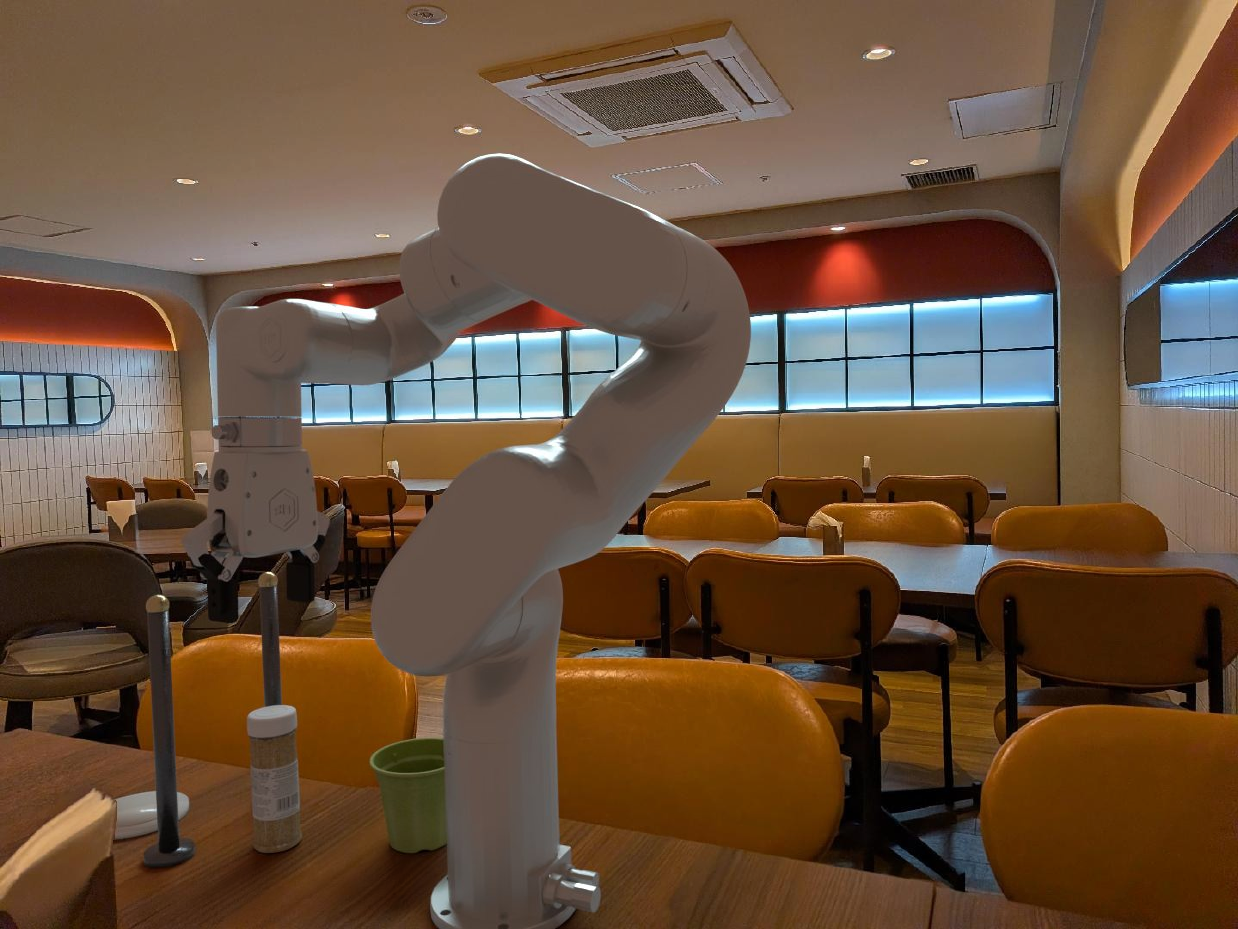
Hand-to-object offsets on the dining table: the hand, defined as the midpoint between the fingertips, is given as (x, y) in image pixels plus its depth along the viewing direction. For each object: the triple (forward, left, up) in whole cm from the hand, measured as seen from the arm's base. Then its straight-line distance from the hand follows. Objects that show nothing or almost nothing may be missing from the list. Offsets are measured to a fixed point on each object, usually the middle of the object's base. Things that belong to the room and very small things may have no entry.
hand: (264, 610), depth 85 cm
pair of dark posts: (+8, -1, -23) cm, 25 cm away
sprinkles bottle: (0, 0, -24) cm, 24 cm away
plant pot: (-13, -6, -24) cm, 28 cm away
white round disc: (+19, +1, -23) cm, 30 cm away
